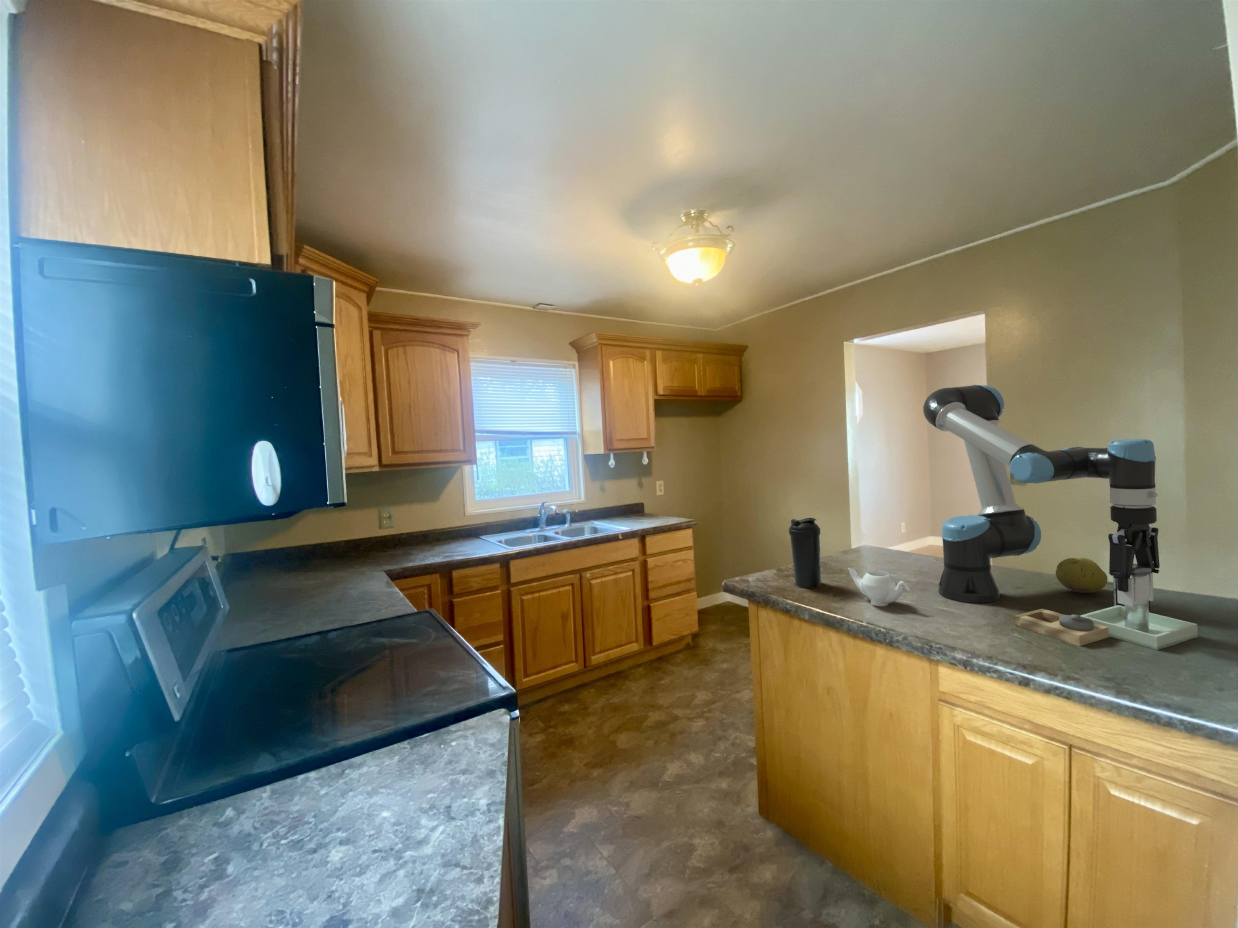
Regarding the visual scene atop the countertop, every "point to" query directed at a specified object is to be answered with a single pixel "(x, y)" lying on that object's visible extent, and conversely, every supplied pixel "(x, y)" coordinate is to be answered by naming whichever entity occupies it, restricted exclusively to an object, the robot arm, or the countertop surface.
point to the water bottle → (806, 552)
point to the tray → (1158, 637)
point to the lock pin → (1139, 600)
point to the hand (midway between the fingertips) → (1135, 601)
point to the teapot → (878, 586)
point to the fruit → (1081, 575)
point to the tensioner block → (1062, 626)
